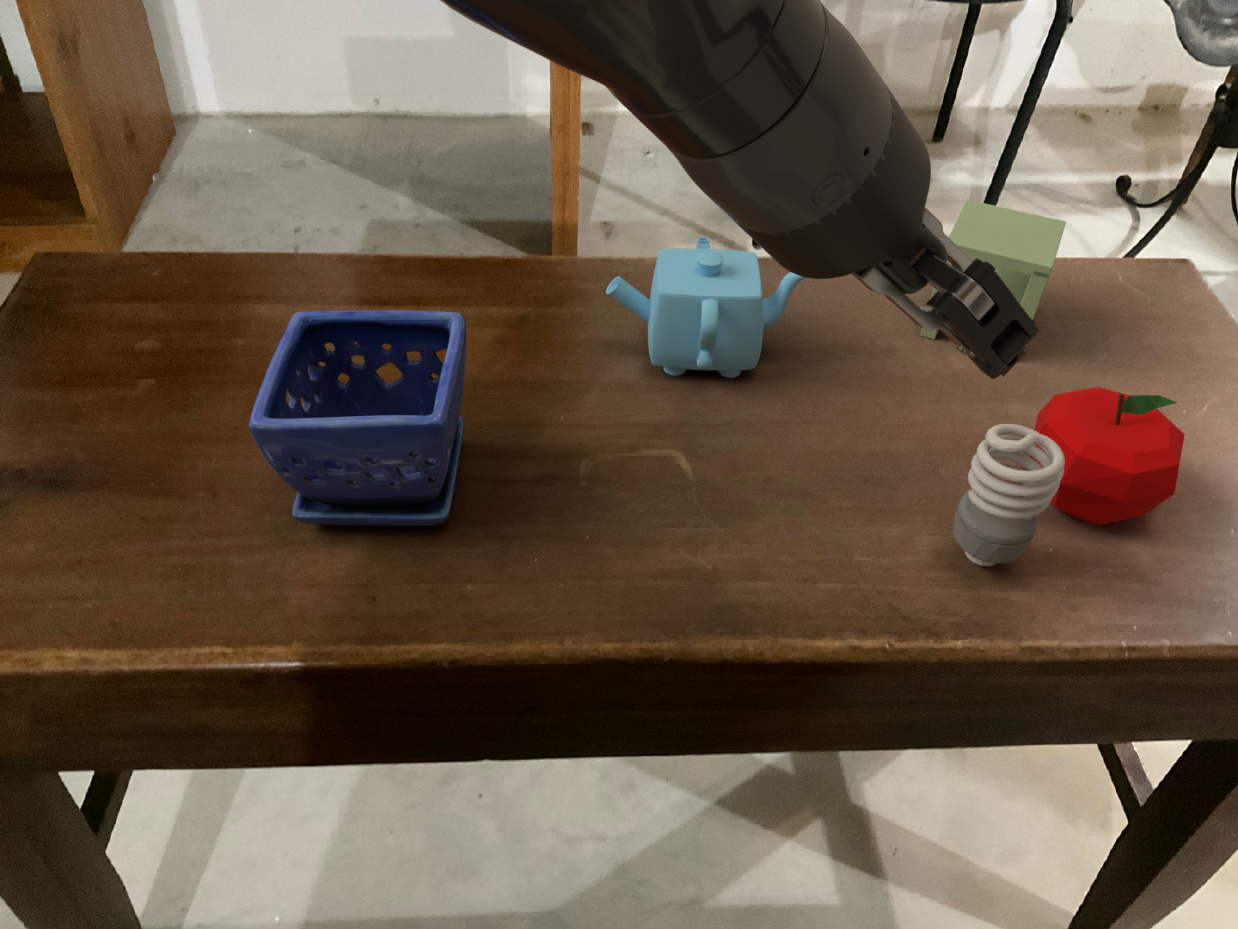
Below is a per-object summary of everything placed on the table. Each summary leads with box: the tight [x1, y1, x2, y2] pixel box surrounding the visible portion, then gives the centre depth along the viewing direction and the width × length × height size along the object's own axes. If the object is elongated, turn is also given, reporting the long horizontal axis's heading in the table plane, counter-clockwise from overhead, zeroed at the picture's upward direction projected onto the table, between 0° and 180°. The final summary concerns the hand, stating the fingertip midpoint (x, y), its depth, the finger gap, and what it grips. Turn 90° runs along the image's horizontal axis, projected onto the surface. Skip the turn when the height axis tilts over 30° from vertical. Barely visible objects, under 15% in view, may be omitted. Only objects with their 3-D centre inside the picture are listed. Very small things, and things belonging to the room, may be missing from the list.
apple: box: [1029, 386, 1186, 525], centre depth 72 cm, size 11×11×10 cm
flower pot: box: [248, 309, 467, 527], centre depth 70 cm, size 13×13×12 cm
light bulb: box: [952, 423, 1065, 567], centre depth 66 cm, size 6×6×12 cm
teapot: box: [605, 236, 807, 379], centre depth 85 cm, size 18×14×10 cm
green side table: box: [919, 199, 1067, 340], centre depth 89 cm, size 9×9×10 cm
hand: (943, 315), depth 49 cm, fingers open, 8 cm apart
